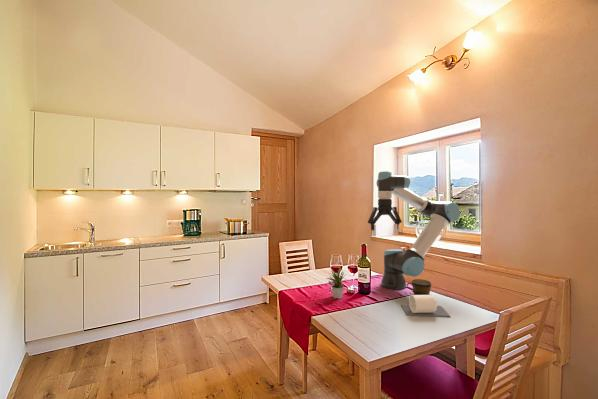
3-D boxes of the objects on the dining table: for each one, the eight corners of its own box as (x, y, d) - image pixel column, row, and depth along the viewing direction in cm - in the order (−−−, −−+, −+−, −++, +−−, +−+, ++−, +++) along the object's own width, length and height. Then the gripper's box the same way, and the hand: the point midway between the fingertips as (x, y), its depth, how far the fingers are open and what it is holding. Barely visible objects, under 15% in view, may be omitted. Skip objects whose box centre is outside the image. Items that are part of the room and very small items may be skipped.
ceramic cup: (426, 296, 161) (426, 279, 161) (434, 303, 151) (434, 284, 151) (403, 296, 162) (403, 279, 162) (410, 303, 152) (410, 284, 152)
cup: (438, 311, 133) (417, 311, 133) (427, 314, 144) (408, 314, 143) (434, 293, 137) (414, 293, 137) (424, 297, 148) (405, 297, 147)
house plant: (327, 291, 171) (327, 264, 171) (350, 293, 167) (350, 265, 167) (322, 299, 157) (322, 270, 157) (347, 301, 154) (347, 272, 153)
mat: (440, 307, 146) (440, 305, 146) (450, 317, 134) (450, 315, 134) (400, 305, 149) (400, 304, 148) (406, 315, 137) (406, 313, 137)
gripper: (368, 198, 155) (367, 237, 156) (408, 198, 161) (407, 235, 162) (361, 198, 163) (361, 235, 163) (400, 198, 168) (400, 233, 169)
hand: (384, 235), depth 162 cm, fingers open, 13 cm apart
